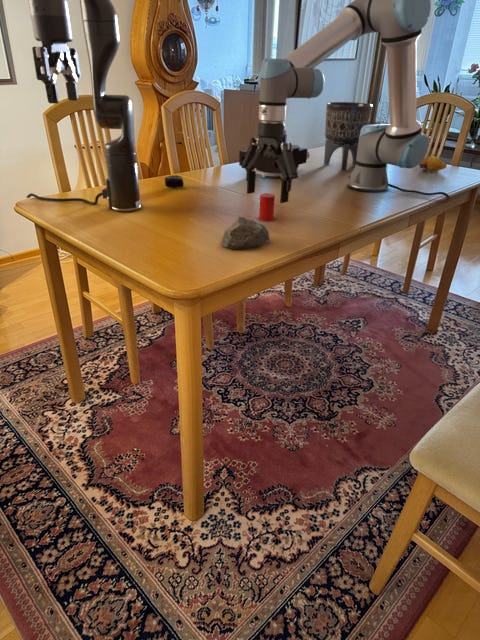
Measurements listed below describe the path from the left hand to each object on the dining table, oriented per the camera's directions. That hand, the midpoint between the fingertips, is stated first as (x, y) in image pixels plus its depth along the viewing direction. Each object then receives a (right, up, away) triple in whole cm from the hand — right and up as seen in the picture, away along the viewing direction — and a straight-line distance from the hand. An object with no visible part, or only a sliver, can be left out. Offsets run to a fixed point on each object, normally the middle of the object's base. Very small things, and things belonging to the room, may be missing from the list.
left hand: (64, 101), depth 101 cm
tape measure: (+15, +1, +70) cm, 72 cm away
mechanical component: (+57, +15, +95) cm, 112 cm away
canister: (+48, -17, +40) cm, 65 cm away
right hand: (+47, -11, +37) cm, 61 cm away
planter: (+87, +22, +110) cm, 141 cm away
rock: (+41, -28, +21) cm, 54 cm away
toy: (+127, +20, +108) cm, 168 cm away
